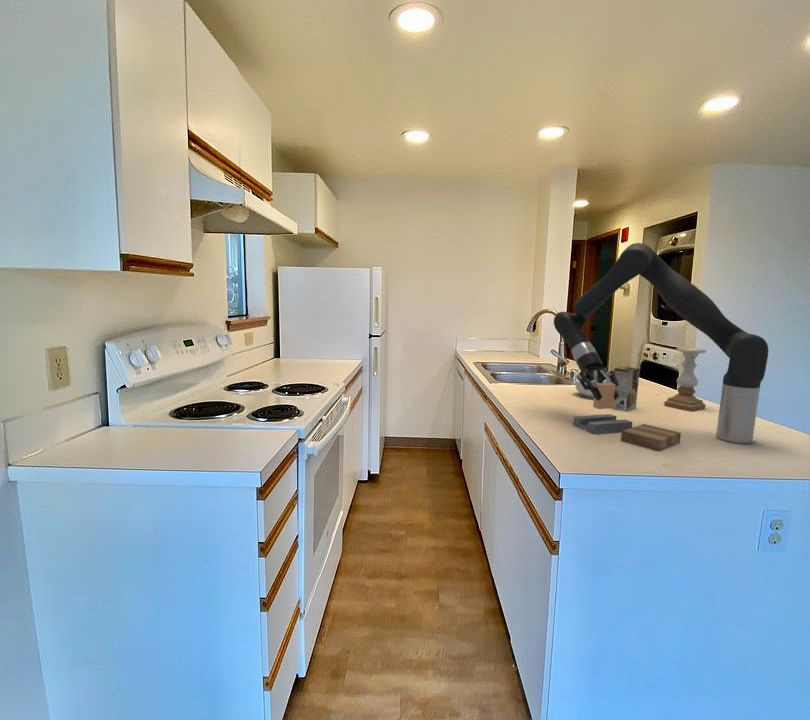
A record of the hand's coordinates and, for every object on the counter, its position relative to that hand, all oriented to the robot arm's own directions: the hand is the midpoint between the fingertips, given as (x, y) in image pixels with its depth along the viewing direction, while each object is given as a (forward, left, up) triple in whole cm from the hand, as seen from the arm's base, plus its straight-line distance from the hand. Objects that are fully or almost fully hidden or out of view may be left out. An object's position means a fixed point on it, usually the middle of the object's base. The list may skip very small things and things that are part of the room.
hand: (608, 398), depth 144 cm
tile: (-1, -2, -3) cm, 4 cm away
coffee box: (-35, -12, -11) cm, 38 cm away
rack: (-1, -2, -10) cm, 11 cm away
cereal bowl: (-45, -30, -11) cm, 55 cm away
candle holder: (-59, +1, -11) cm, 60 cm away
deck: (0, +14, -10) cm, 18 cm away
